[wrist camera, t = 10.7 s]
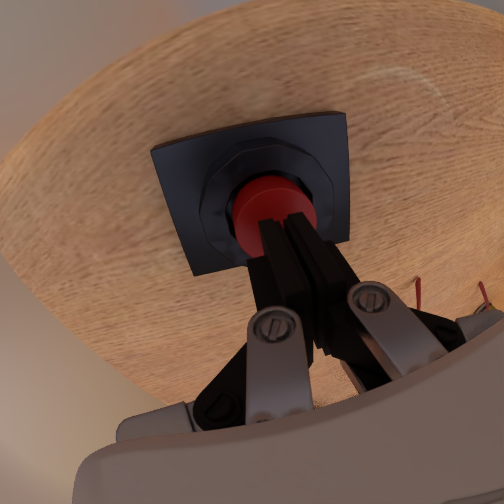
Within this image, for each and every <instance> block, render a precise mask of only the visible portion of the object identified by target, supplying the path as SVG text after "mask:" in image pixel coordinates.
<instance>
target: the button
mask: <svg viewBox="0 0 504 504" xmlns="http://www.w3.org/2000/svg"><path fill="white" fill-rule="evenodd" d="M297 212H303V213H304V214H305V216H306V217H307V219H308V220H309V221H310V223H311V224H312V226H313V227H314V229H315V230H316V224H317V217H316V212H315V209H314V206H313V204H312V203H311V201H310V200H309V199H308V198H307V196H306V195H305V194H304V193H303V192H302V190H301V189H300V188H299V187H298V186H297V185H296V184H295V183H294V182H293V181H291V180H289V179H288V178H285V177H282V176H277V175H267V176H261V177H258V178H256V179H253V180H252V181H250V182H248V183H247V184H246V185H245V186H244V187H242V188H241V190H240V191H239V192H238V194H237V195H236V197H235V200H234V202H233V206H232V217H233V223H234V228H235V234H236V238H237V241H238V243H239V245H240V246H241V248H242V249H243V250H244V251H245V252H246V253H247V254H249V255H250V256H252V257H253V258H255V257H259V256H263V255H264V252H263V247H262V241H261V236H260V231H259V225H258V221H260V220H265V219H269V218H273V219H274V221H278V220H279V221H280V223H281V225H282V227H283V229H284V226H283V219H287V215H288V214H292V213H297Z"/></svg>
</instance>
